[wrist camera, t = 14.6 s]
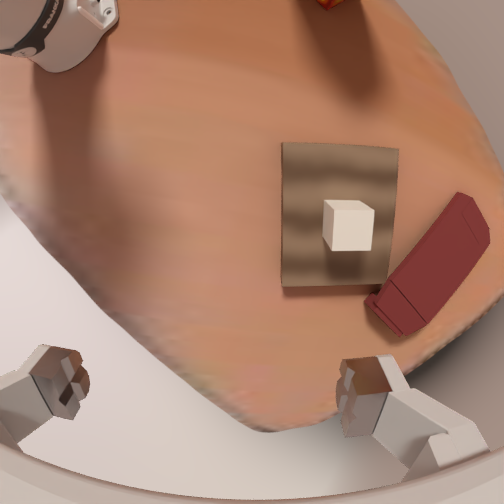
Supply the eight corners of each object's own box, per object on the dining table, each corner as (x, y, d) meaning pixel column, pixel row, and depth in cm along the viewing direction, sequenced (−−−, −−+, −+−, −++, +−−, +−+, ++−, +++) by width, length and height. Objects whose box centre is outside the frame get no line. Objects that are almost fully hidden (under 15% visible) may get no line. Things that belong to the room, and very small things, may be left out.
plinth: (281, 142, 41) (283, 142, 39) (390, 147, 41) (398, 148, 38) (280, 277, 48) (282, 286, 45) (379, 275, 48) (385, 283, 45)
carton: (448, 184, 46) (356, 294, 49) (466, 187, 41) (369, 306, 44) (476, 232, 49) (394, 333, 52) (493, 237, 44) (407, 346, 47)
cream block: (323, 199, 41) (334, 209, 35) (359, 200, 41) (374, 210, 35) (322, 235, 43) (331, 250, 37) (356, 235, 43) (370, 250, 37)
